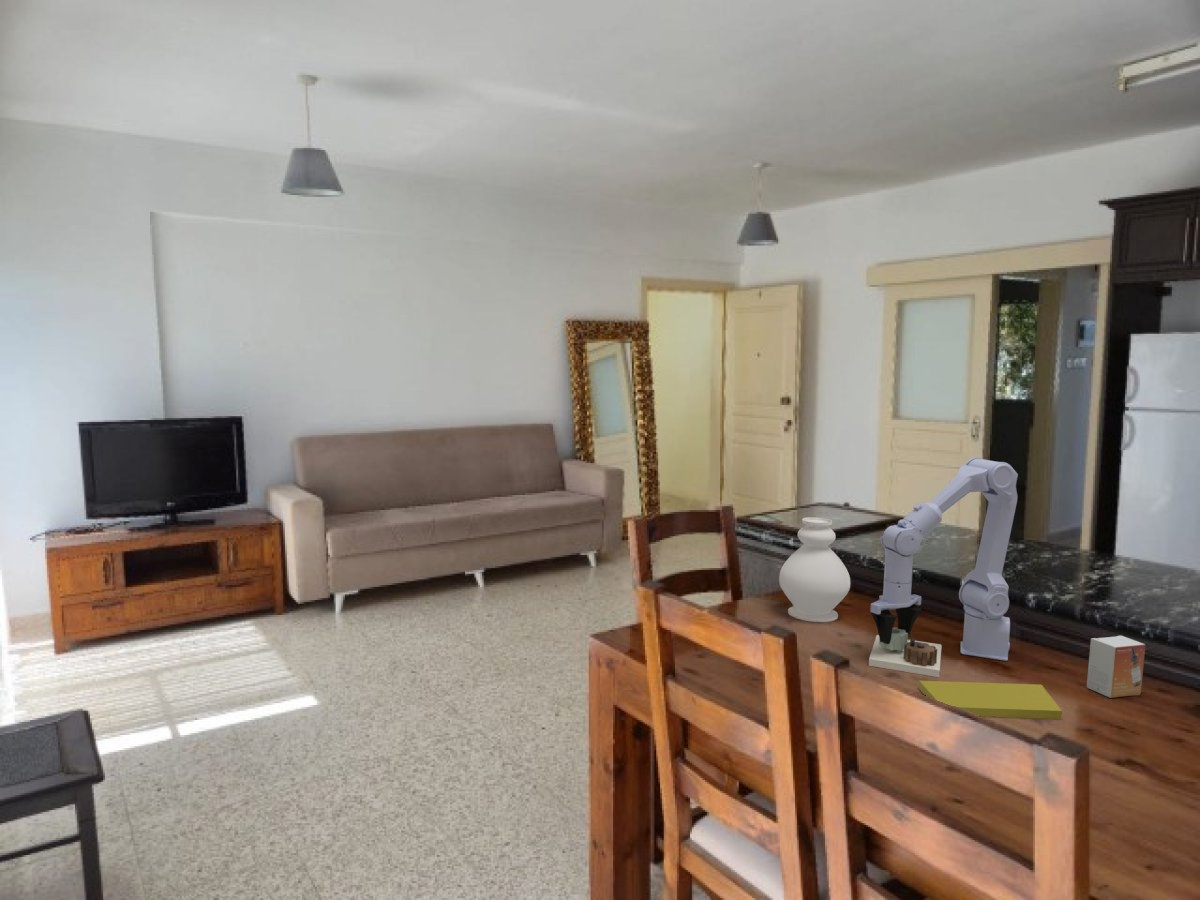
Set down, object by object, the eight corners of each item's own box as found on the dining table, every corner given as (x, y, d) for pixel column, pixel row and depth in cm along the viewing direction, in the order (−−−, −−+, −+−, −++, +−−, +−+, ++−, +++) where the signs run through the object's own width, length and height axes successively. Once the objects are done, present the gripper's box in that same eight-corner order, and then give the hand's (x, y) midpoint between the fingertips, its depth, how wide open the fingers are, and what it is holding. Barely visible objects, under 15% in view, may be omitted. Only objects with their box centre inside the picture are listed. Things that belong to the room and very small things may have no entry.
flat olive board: (941, 718, 144) (1074, 722, 143) (942, 706, 144) (1075, 711, 143) (918, 691, 156) (1040, 695, 155) (919, 680, 156) (1041, 684, 155)
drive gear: (936, 657, 169) (938, 637, 168) (935, 668, 163) (937, 647, 162) (904, 652, 171) (905, 633, 171) (902, 662, 165) (904, 642, 165)
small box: (1110, 699, 152) (1114, 647, 151) (1085, 687, 158) (1089, 637, 157) (1141, 695, 155) (1146, 644, 154) (1116, 684, 160) (1121, 634, 159)
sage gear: (908, 644, 174) (909, 629, 174) (905, 652, 169) (906, 637, 169) (881, 639, 177) (881, 625, 176) (877, 647, 172) (878, 633, 171)
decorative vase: (765, 606, 208) (768, 515, 205) (822, 601, 213) (827, 512, 211) (801, 628, 191) (805, 528, 189) (863, 622, 197) (868, 525, 194)
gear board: (941, 650, 177) (942, 627, 177) (939, 677, 162) (940, 651, 161) (876, 641, 183) (877, 618, 182) (868, 665, 168) (870, 641, 167)
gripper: (903, 572, 178) (900, 629, 180) (860, 580, 171) (857, 640, 172) (930, 579, 172) (927, 638, 174) (887, 588, 165) (883, 650, 166)
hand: (894, 640), depth 173 cm, fingers closed on sage gear, 6 cm apart
